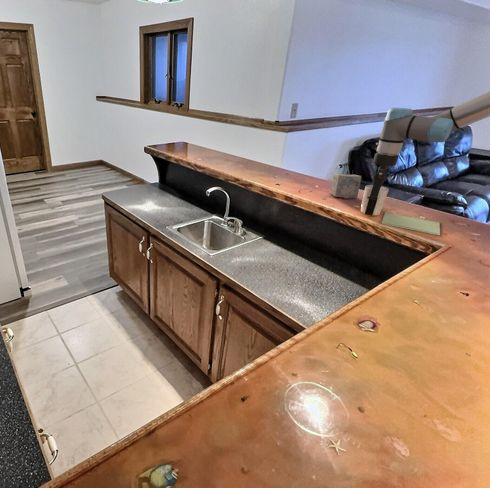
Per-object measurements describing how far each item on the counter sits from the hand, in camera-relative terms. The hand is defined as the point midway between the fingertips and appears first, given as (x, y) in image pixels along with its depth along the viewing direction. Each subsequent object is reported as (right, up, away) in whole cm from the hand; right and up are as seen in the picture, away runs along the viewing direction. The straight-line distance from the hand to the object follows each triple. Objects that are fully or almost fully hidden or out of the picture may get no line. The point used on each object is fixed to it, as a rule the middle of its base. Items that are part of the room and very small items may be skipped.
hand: (369, 211), depth 137 cm
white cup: (0, 0, 0) cm, 0 cm away
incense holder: (0, +9, +21) cm, 22 cm away
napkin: (+11, -5, -6) cm, 14 cm away
